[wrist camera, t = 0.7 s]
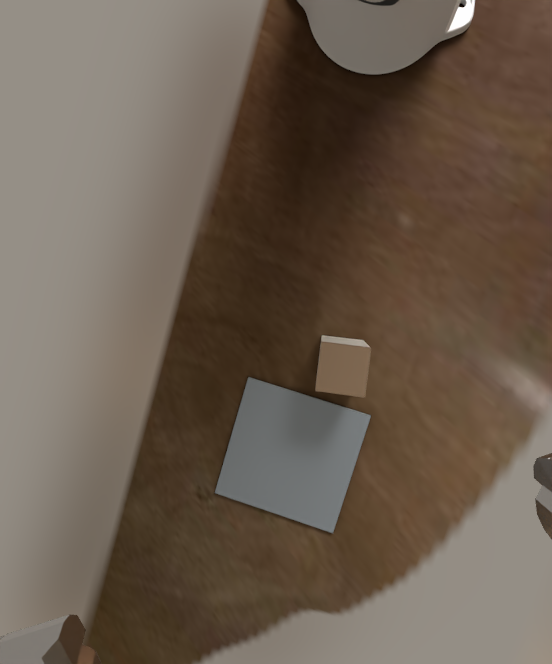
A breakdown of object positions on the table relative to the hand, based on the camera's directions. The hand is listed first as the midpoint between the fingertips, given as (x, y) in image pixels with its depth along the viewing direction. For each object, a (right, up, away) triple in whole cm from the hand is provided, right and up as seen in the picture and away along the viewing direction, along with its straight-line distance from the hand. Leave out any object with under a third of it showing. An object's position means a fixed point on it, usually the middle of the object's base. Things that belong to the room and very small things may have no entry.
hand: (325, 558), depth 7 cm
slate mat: (+1, -10, +41) cm, 42 cm away
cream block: (+6, +1, +40) cm, 40 cm away
